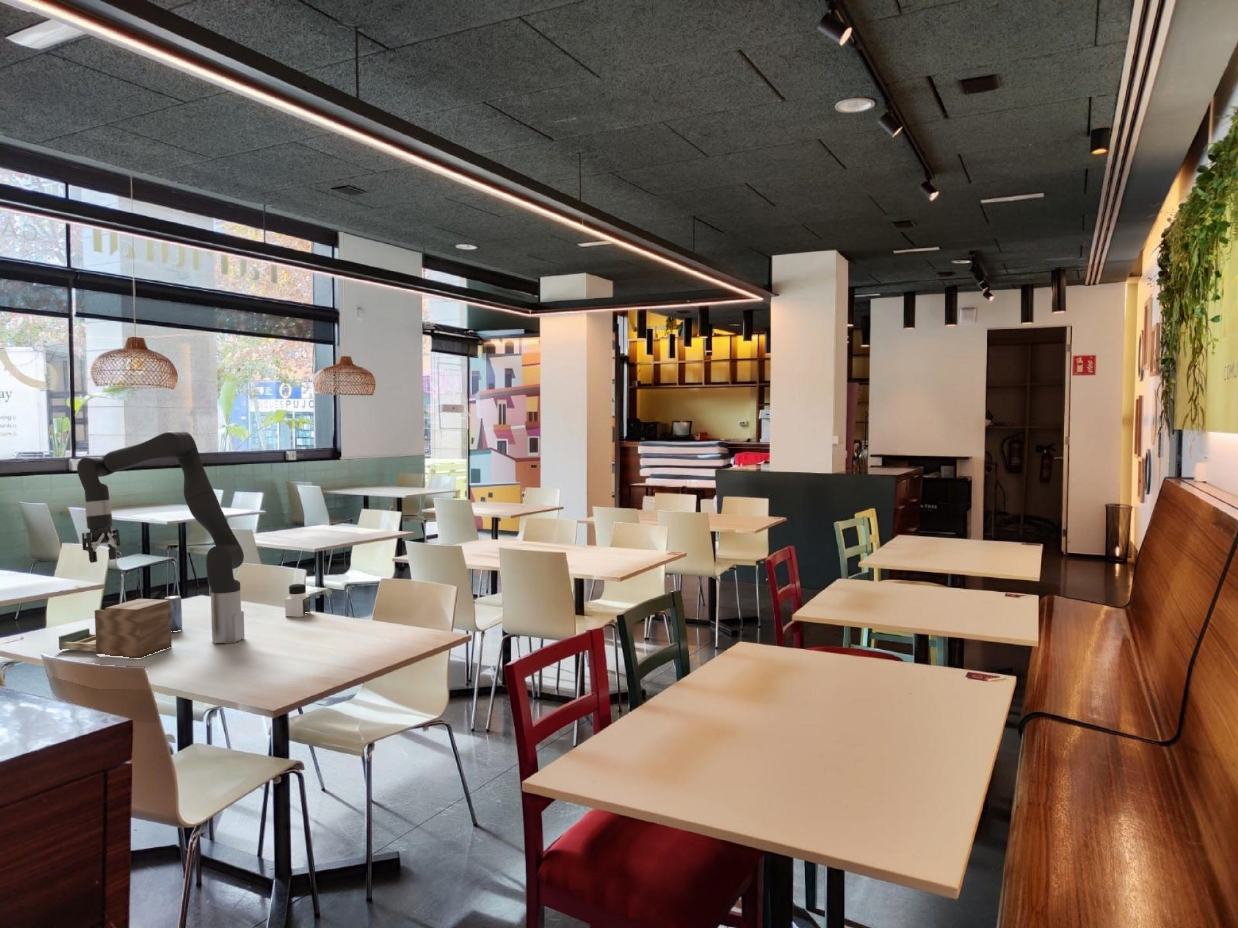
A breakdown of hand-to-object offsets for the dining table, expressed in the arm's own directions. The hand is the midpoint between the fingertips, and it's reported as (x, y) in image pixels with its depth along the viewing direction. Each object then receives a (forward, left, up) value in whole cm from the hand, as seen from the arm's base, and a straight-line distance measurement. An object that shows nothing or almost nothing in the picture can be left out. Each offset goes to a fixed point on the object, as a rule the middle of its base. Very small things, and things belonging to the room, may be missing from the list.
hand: (103, 560), depth 291 cm
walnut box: (-21, +17, -27) cm, 38 cm away
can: (-18, -10, -27) cm, 34 cm away
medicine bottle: (-52, -36, -27) cm, 69 cm away
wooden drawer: (-6, +14, -27) cm, 31 cm away
